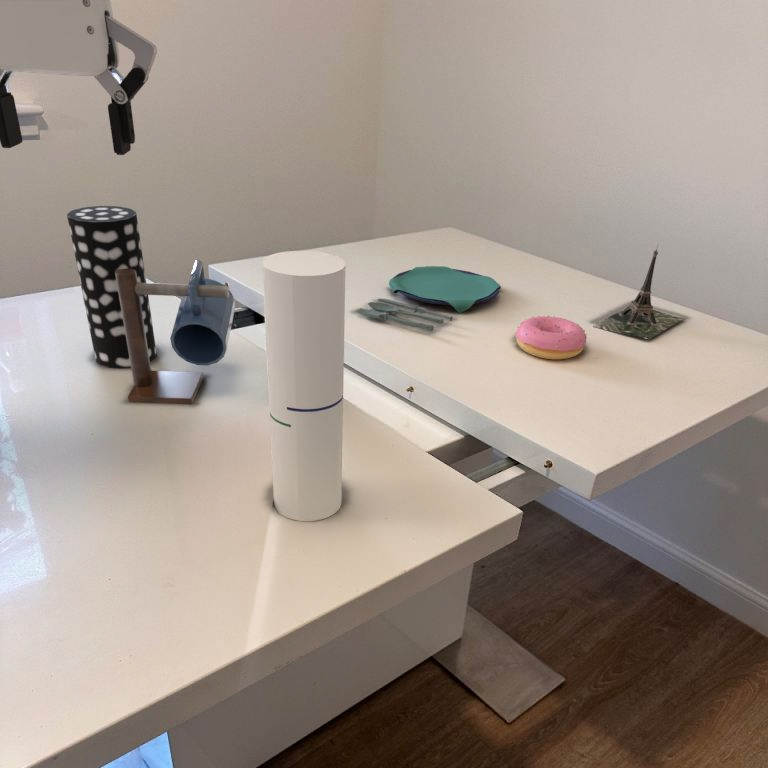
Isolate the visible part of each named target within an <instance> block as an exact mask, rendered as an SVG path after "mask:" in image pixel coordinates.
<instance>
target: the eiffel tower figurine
mask: <svg viewBox="0 0 768 768" xmlns="http://www.w3.org/2000/svg"><path fill="white" fill-rule="evenodd" d="M658 247H659V244H657V245H656V249H655V250H653V253H652V259H651V262H650V265H649V268H648V270H647V274H646V277H645V279H644V282H643V284H642V286H641V288H640V289H639V292H638V293H637V295H636V297H635V298H634V299H633V300H631V303H630V304H629V305H628V306H627V307H625V308H624V309H623V310H620V311H617V312H616V313H614V314H612V315H610V316H608V317H606V318H604V319H603V320H601V321H600V322H598V323H596V324H595V325H593V326H592V327H594V328H597V329H601V330H603V331H608V332H613V333H615V334H623V335H628V336H633V337H638V338H642V339H645V340H651V339H652V338H653V337H655V336H658V335H659V334H661V333H663V332H664V331H666V330H667V329H669V328H671V327H672V326H674V325H676V324H679V323H681V322H683V321H685V320H686V319H685V318H682V317H680V316H676V315H672V314H670V313H666V312H663V311H660V310H656V309H654V305H652V299H651V298H652V297H651V294H652V291H651V290H652V283H653V282H652V281H653V275H654V270H655V266H656V260H657V257H658V254H659V251H658Z"/></svg>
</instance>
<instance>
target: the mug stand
mask: <svg viewBox="0 0 768 768" xmlns="http://www.w3.org/2000/svg"><path fill="white" fill-rule="evenodd" d="M115 276H116V282H117V288H118V293H119V299H120V305H121V311H122V317H123V323H124V329H125V335H126V341H127V346H128V352H129V358H130V364H131V368H130V369H131V374H132V375H131V376H132V381H133V387H132V389H131V390H130V392H129V394H128V395H127V401H128V403H140V404H141V403H143V404H170V405H172V404H175V405H176V404H177V405H193V404H194V401H195V399H196V396H197V394H198V393H199V392H198V391H199V389H200V387H201V384H202V383H203V382H202V381H203V380H204V372H203V371H180V370H179V371H178V370H152V365H151V362H150V359H149V353H148V346H147V340H146V333H145V327H144V320H143V314H142V307H141V301H140V295H148V296H163V297H164V296H165V297H167V296H169V297H182V296H189V292H188V285H189V283H188V284H187V283H164V282H163V283H162V282H146V283H140V282H138V281H137V274H136V271H135V270H134V269H119V270H116V271H115ZM229 290H230V288H229V286H228V285H224V286H216V285H197V294H198V297H215V298H229Z"/></svg>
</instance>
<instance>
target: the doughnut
mask: <svg viewBox="0 0 768 768" xmlns="http://www.w3.org/2000/svg"><path fill="white" fill-rule="evenodd" d="M515 336H516V338H515V339H516V343H517V345H518V346H519V348H520V349H521V350H523V351H524V352H525V353H527V354H529V355H531V356H533V357H538V358H541V359H546V360H566V359H570V358H573V357H576V356H577V355H579V354H580V353H581V352H582V351H583V350H584V348H585V345H586V344H587V339H588V337H587V334H586V331H585V329H583V327H582V326H581V325H580V324H578V323H576V322H574V321H572V320H569V319H567V318H563V317H557V316H550V315H542V316H540V315H539V316H532V317H529V318H526V319H525V320H523V321H522V322H520V323H519V325H517V329H516V331H515Z"/></svg>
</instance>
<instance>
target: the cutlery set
mask: <svg viewBox="0 0 768 768" xmlns="http://www.w3.org/2000/svg"><path fill="white" fill-rule="evenodd" d="M388 286H389V287H390V288H391V290H392V291H393V293H394V294H398V293H399V294H401V295H402V296H404V297H406V298H408V299H412V300H415V301H418V302H422V303H427V304H431V305H442V306H452V307H453V308H454V310H455V311H456V312H457V313H458V314H461V313H464V312H466V311H467V310H468V309H470V308H472V306H473V305H474V304H475V305H476V304H482V303H484V302H487V301H490V300H493V299H495V298H496V296H497V295H498V294H499V293H500V290H501V289H502V286H501V285H500V284H499V283H498V282H497V281H496V280H495V279H494V278H492V277H490V276H489V275H483V274H480V273H475V272H472V271H468V270H462V269H456V268H452V267H449V266H445V265H444V266H443V265H441V266H440V265H437V266H436V265H427V266H415V267H414V268H412V269H408V270H405V271H402V272H399V273H398V274H396V275H395V276H393V277H392V278H391V279H389V281H388ZM377 300H378V301H377V302H376V301H375V302H374V301H369V302H368V303H367V305H368V306H369V307H370V309H372V310H368V309H364V308H362V307H361V308H359V309H357V310H355V312H356V313H358V314H361V315H364V316H368V317H371V318H373V319H376V320H379V321H387V320H391V321H394V322H396V323H398V324H400V325H404V326H408V327H411V328H412V327H413V328H417V329H422V330H425V331H428V332H433V331H434V325H433V324H428V323H424V322H418V321H412V320H406V319H402V318H400V317H397V316H394V315H392V314H397V315H403V316H408V317H413V318H417V319H422V320H426V321H429V322H432V323H435V324H437V325H442V324H444V320H445V319H447V320H449V322H452V321H453V316H450V315H444V314H440V313H439V312H438V313H437V312H435V311H431V310H428V309H427V308H425V307H419V305H415V306H412V305H411V304H406V303H403V302H399V301H395V300H391V299H387V298H378V299H377ZM397 307H399V308H403V309H408V310H411V311H413V312H408V311H399V309H398V308H397ZM417 312H418V313H417ZM425 313H426V314H430V315H435V316H438V317H435V316H429V315H424V314H425ZM390 314H391V315H390ZM439 317H440V318H439Z"/></svg>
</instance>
